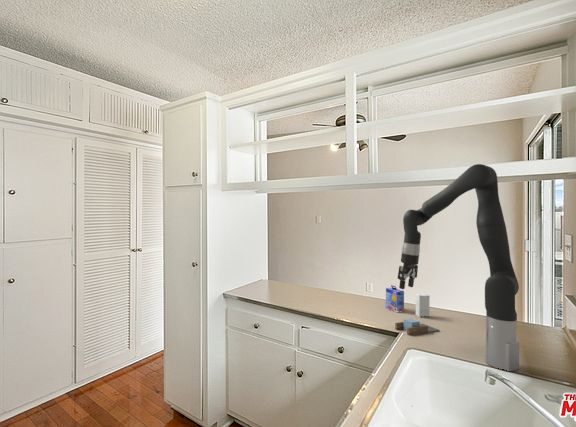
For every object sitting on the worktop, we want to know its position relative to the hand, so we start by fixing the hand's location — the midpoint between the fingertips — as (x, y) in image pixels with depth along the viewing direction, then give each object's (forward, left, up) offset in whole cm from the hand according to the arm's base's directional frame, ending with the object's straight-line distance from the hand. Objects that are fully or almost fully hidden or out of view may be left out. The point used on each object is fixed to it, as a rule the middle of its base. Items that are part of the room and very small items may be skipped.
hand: (406, 287), depth 142 cm
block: (+3, -7, -21) cm, 23 cm away
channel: (+3, -7, -21) cm, 22 cm away
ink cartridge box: (+34, -26, -22) cm, 48 cm away
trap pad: (+3, -17, -21) cm, 27 cm away
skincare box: (+19, -32, -22) cm, 43 cm away
